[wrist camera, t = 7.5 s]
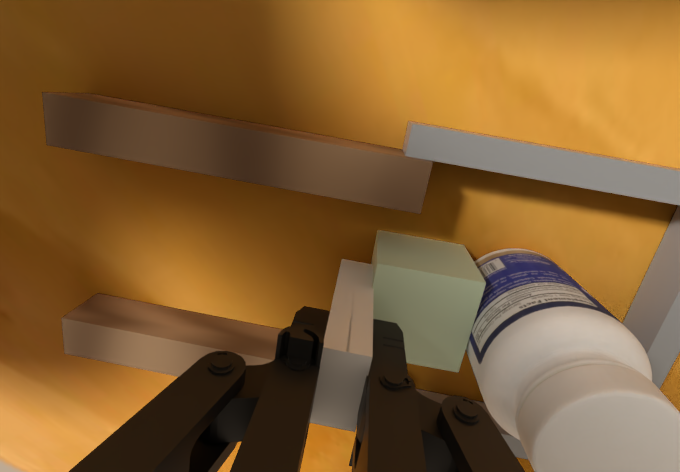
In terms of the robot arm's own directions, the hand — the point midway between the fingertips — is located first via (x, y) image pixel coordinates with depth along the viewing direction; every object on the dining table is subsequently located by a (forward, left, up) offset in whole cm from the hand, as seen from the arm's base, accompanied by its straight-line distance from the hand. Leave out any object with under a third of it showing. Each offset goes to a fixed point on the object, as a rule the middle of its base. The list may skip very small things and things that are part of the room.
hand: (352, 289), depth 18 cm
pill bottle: (+7, 0, -2) cm, 8 cm away
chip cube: (+3, 0, -2) cm, 3 cm away
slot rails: (-5, 0, -2) cm, 6 cm away
